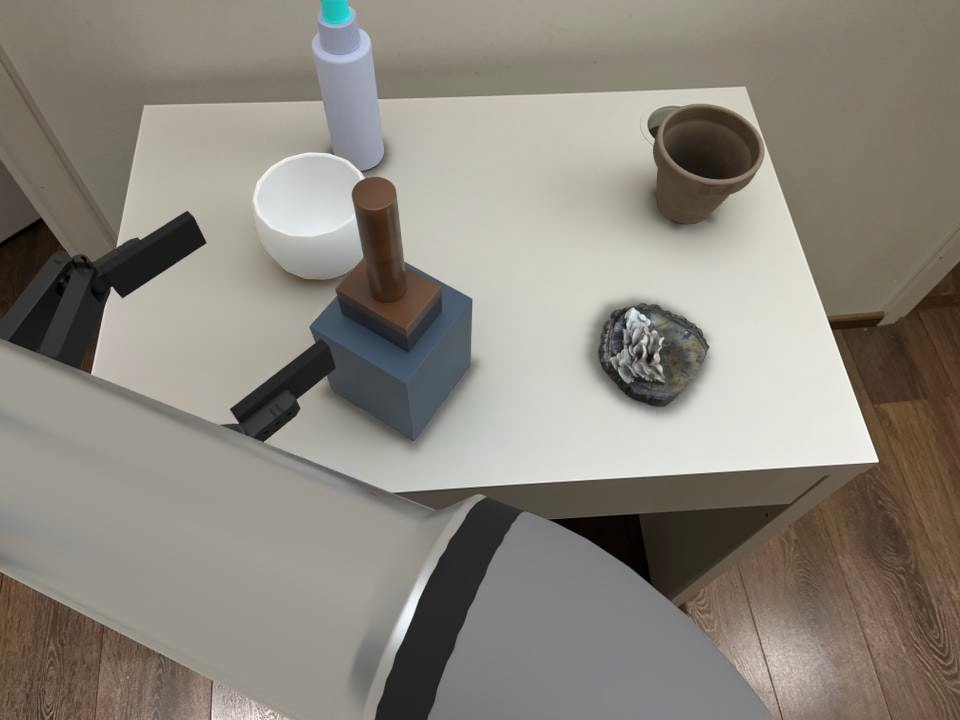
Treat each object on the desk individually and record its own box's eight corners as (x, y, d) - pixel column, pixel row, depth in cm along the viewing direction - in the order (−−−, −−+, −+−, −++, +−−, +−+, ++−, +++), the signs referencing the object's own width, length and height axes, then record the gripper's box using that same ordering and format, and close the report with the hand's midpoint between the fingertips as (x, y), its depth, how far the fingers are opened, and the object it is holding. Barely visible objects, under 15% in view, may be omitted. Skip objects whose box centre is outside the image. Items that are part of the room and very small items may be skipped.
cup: (404, 245, 78) (398, 184, 70) (330, 319, 73) (313, 263, 65) (322, 194, 82) (306, 130, 73) (245, 262, 77) (219, 201, 68)
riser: (470, 364, 71) (472, 298, 61) (414, 441, 67) (406, 384, 56) (391, 318, 73) (379, 247, 63) (331, 390, 69) (308, 326, 59)
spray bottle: (386, 137, 86) (365, -38, 67) (383, 173, 83) (360, 1, 64) (337, 136, 86) (302, -40, 67) (332, 172, 83) (294, 0, 64)
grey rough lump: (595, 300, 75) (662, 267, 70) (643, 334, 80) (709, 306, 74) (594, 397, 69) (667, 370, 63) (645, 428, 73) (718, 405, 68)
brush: (442, 310, 60) (438, 191, 47) (408, 353, 58) (394, 240, 45) (376, 273, 62) (354, 149, 49) (341, 313, 59) (309, 194, 47)
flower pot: (740, 245, 79) (775, 183, 71) (640, 242, 79) (663, 179, 71) (725, 170, 85) (756, 104, 76) (632, 167, 85) (652, 100, 76)
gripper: (-122, 399, 44) (169, 216, 52) (90, 709, 36) (396, 439, 44) (-224, 338, 37) (127, 139, 45) (9, 701, 29) (386, 385, 37)
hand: (260, 286), depth 44 cm, fingers open, 13 cm apart
